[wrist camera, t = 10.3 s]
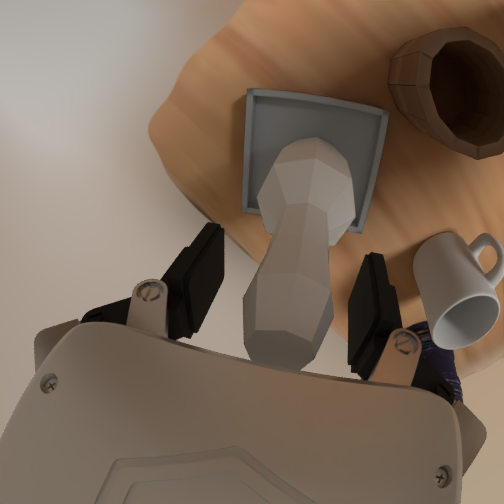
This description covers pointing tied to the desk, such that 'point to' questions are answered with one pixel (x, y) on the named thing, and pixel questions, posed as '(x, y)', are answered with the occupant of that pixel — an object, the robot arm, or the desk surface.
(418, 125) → the holder
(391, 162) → the desk surface
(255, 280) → the faceted bottle
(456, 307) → the mug
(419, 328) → the storage jar
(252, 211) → the tray
